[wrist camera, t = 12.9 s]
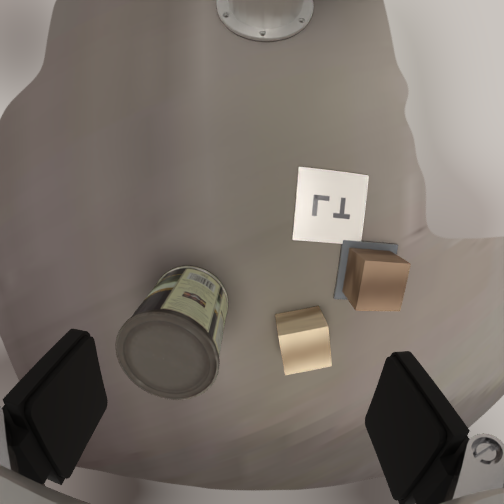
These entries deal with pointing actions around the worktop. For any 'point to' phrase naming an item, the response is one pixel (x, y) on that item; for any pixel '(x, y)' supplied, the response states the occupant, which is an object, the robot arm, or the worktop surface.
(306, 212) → the tile
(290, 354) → the maple block
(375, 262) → the walnut block
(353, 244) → the slate coaster
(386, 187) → the worktop surface
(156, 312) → the coffee can
